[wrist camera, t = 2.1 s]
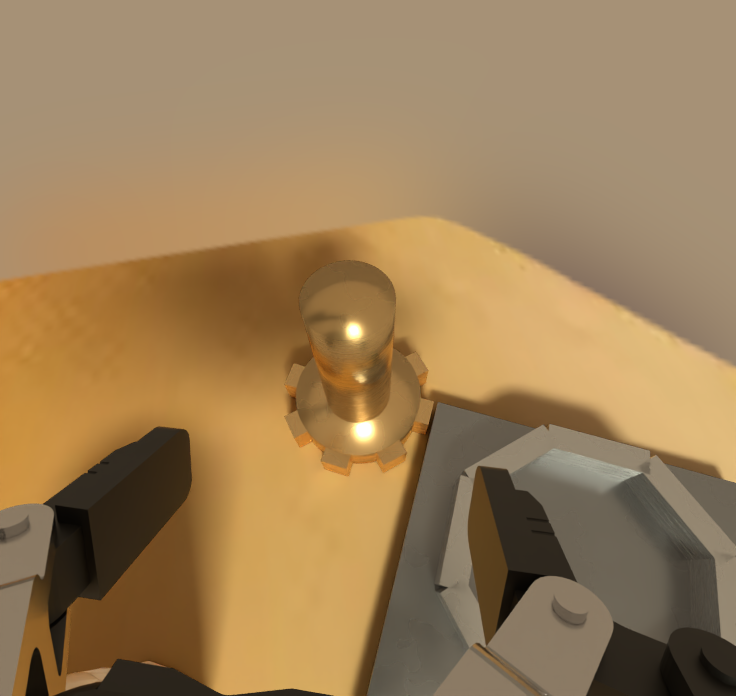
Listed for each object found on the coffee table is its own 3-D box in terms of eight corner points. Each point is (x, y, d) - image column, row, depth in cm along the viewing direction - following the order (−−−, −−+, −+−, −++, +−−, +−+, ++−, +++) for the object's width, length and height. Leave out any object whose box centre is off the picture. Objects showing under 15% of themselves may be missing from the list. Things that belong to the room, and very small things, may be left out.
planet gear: (267, 451, 24) (192, 366, 14) (318, 331, 28) (285, 199, 18) (409, 496, 23) (432, 435, 13) (442, 362, 26) (479, 239, 17)
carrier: (336, 817, 17) (324, 885, 13) (435, 409, 25) (445, 380, 21) (782, 1020, 14) (924, 1176, 10) (729, 490, 22) (799, 472, 19)
